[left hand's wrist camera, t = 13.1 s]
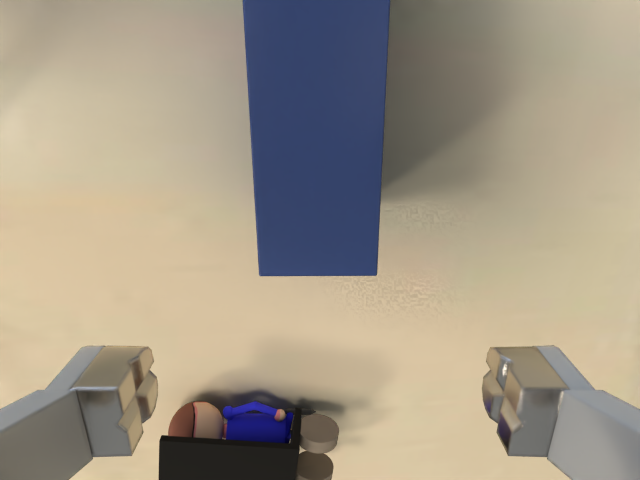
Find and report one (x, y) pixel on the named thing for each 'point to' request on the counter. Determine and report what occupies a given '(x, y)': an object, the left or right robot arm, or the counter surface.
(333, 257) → the box
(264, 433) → the figurine character
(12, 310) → the counter surface
